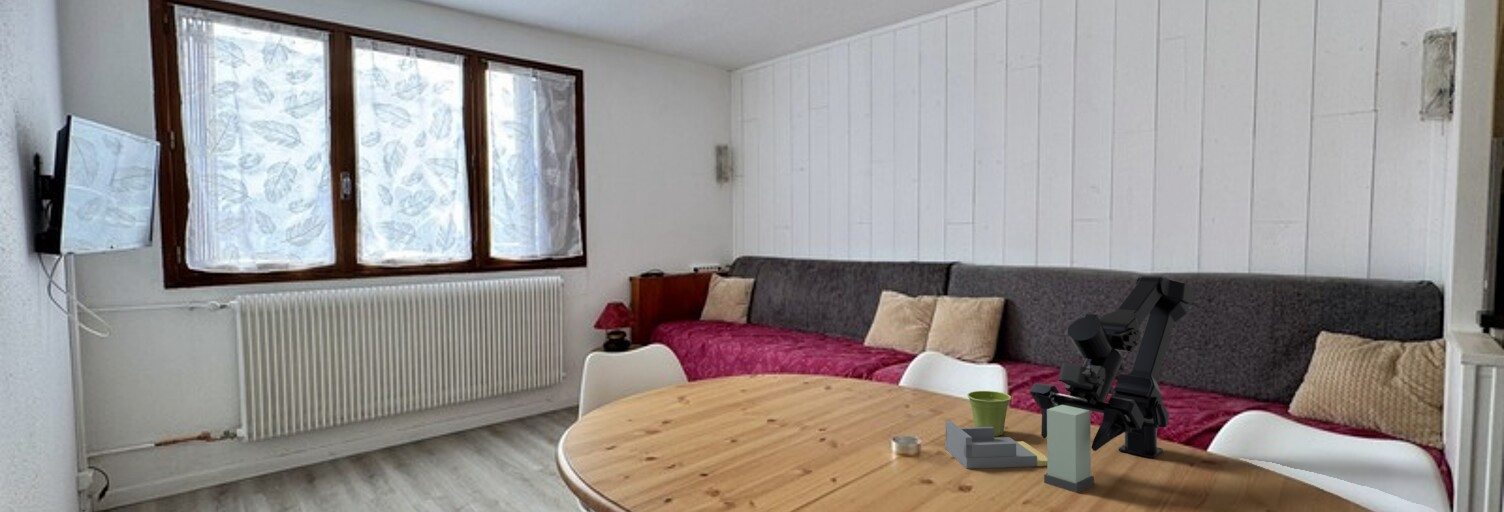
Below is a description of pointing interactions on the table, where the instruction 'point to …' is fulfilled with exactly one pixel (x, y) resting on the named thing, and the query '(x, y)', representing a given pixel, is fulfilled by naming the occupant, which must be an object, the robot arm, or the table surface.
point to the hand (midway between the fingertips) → (1067, 443)
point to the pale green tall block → (1068, 448)
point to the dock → (989, 449)
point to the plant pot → (989, 409)
